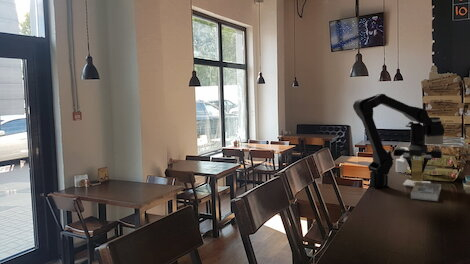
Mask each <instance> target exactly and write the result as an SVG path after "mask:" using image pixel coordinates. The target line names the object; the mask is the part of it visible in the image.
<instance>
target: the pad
mask: <svg viewBox="0 0 470 264" xmlns="http://www.w3.org/2000/svg"><path fill="white" fill-rule="evenodd" d="M411 180H412V179H405V181H404V182H403V183H402V186H405V187H414V186H415V184H416V182H418V181H411ZM422 182H423V183H432V182H431V181H427V180H422Z"/></svg>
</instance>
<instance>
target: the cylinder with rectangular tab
mask: <svg viewBox="0 0 470 264" xmlns="http://www.w3.org/2000/svg"><path fill="white" fill-rule="evenodd" d="M399 148H404V149H405V150H408V148H409V147H407V146H403V147H402V146H400V147H399ZM407 166H408V162H407V160H406V159H405V158H403V155H402V156H399V158H396V159H395V172H396V173H398V172H401V173H400V174H406V173H405V172H406V169H407Z"/></svg>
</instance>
